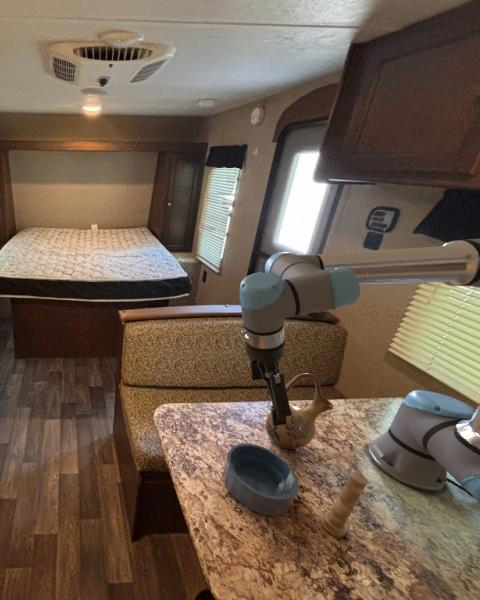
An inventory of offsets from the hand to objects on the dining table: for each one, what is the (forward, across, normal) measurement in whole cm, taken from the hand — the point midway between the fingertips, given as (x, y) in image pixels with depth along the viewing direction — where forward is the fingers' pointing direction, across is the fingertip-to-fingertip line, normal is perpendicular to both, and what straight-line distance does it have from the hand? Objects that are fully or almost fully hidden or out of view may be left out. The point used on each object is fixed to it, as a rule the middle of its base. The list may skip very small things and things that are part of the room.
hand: (267, 399), depth 79 cm
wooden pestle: (+21, +20, +6) cm, 30 cm away
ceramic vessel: (+26, -3, +4) cm, 27 cm away
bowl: (+18, +12, -8) cm, 23 cm away
